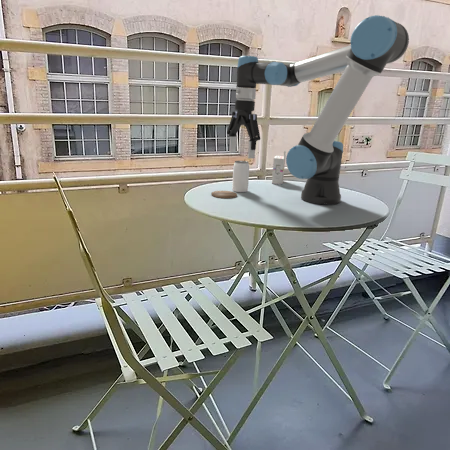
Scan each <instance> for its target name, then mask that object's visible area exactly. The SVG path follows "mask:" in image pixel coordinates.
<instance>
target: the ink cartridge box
mask: <svg viewBox="0 0 450 450" xmlns="http://www.w3.org/2000/svg"><path fill="white" fill-rule="evenodd" d="M286 157H287V154H286V149H285V150H284V152H283V155H275V156H274V157H273V164H272V167H273V168H272V176H271V177H272V179H271V184H272V185H283V182H284V176H285V175H284V174H285V168H286V167H285V166H286V165H285V164H286Z"/></svg>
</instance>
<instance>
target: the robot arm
mask: <svg viewBox="0 0 450 450" xmlns="http://www.w3.org/2000/svg"><path fill="white" fill-rule="evenodd" d="M409 36H410V35H409V33H408V30H407V29H406V27H405V26H404V25H402V24H401V23H399V22H396V21H395V20H393V19H391V18H390V17H387V16H384V15H379V14H377V15H371V16H370V15H369V16H368V17H366V18H364V19H363V20H361V21H360V22H359V23H358V24H357V25H356V26H355V28H354V29H353V31H352V33H351V36H350V41H349V42H350V43H349V45H347V46H343V47H341V48H340V47H339V48H337V49H334V50H331V51H328V52H325V53H322V54H317V55H314V56H312V57H308V58H306V59H302V60H299V61H296V62H293V63H292V62H291V63H290V64H285V63H283V62H280V61H266V62H264V61H263V62H260V61H259V58H258V56H254V55H253V56H252V55H241V56H239V57H238V59H237V67H236V90H235V98H236V99H235V101H234V103H235V104H234V109H235V111H232V112H231V118H230V121H229V125H228V128H227V130H226V135H228V136H229V151H228V152H229V154H233V153H234V154H235V153H237V140H238V138H237V133H238V132H239V130H240V128H241V127H242V126H244V127H245V130H246V132H247V134H248V137H249V140H248V146H247V147H248V152H247V159H255V156H256V149H257V142H258V141H260V140H261V134H260V130H259V129H260V128H259V124H258V114H256V113H253V111H255V106H256V105H255V104H256V102H255V99H256V95H257V94H256V92H257V85H271V86H283V87H288V88H289V87H290V88H292V87H297V86H298V85H300V83H303V82H308V81H311V80H316V79H319V78H323V77H327V76H330V75H335V74H338V73H341V72H342V74H341V76H340V77H339V79H338V82H336V85H335V87H334V88H333V90H332V92H331V94H330V96H329V97H328V99H327V101H326V103H325V104H324V106H323V108H322V110H321V112H320V113H319V115H318V117H317V119H316V120H315V122H314V124H313V126H312V128H311V130H310V131H309V132H306V133H304V134H303V135H302V136H301V138H300V140H299V142H298V144H296V145H294V146H293V147H290V149H289V151H288V152H287V154H286V157H285V164H286V166H287V170H288V172H289V173H290V174H291V175H292V176H293V177H295V178H296V179H300V180H304V179H305V180H306V182H305V185H304V187H303V190H302V191H301V195H300V198H301V200H303V201H304V202H308V203H311V204H316V205H337V204H340V203H341V199H342V194H341V190H340V184H339V181H340V180H339V179H340V173H341V167H342V159H343V154H344V144H343V142H341V141H337V140H336V139H337V137H338V135H339V134H340V133H341V130H342V129H343V128H344V126H345V124H346V122H347V120H348V119H349V117H350V116H351V114H352V112H353V111H354V109H355V107H356V106H357V104H358V102H359V101H360V99H361V97H362V96H363V94H364V93H365V91H366V89H367V87H368V86H369V84H370V82H371V81H372V79H373V78H374V77H376V76H379V75H381V74H382V73H383V71H384V69H385V68H386V66H387V64H391V63H395V62H396V61H398V60H399V59H401V57H403V56H404V55H405V53H406V51H407V49H408V46H409V43H410V37H409Z"/></svg>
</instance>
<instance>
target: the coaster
mask: <svg viewBox="0 0 450 450" xmlns="http://www.w3.org/2000/svg"><path fill="white" fill-rule="evenodd" d="M211 197H214V198H217V199H234V198H237V197H238V192H234V191H231V190H215V191H212V192H211Z"/></svg>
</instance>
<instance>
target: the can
mask: <svg viewBox="0 0 450 450" xmlns="http://www.w3.org/2000/svg"><path fill="white" fill-rule="evenodd" d="M232 169H233V170H232V171H233V172H232V186H231V187H232V192H235V193H240V194H241V193H247V192H248V190H249V180H250V179H249V177H250V164H249V161H246V160H235V161H234V164H233V168H232Z"/></svg>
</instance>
